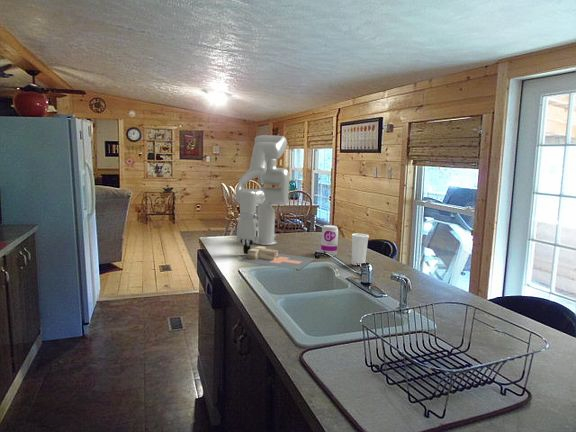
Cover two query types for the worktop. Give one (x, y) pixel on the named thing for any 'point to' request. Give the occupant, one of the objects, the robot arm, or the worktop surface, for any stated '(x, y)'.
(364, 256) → the cup
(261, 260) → the mat
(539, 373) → the worktop surface
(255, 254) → the t block
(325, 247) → the supplement can
